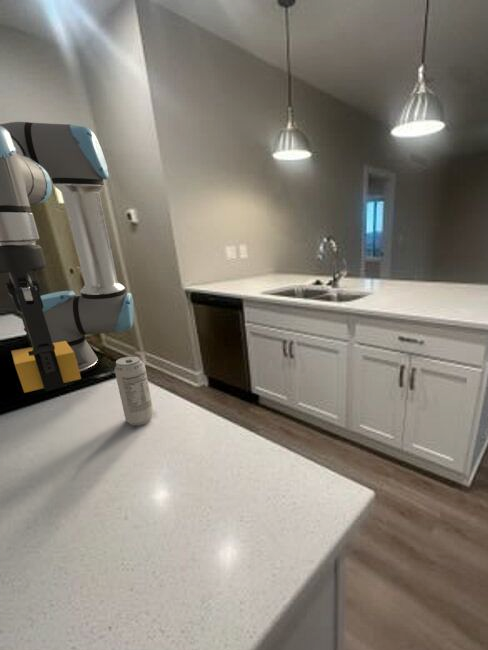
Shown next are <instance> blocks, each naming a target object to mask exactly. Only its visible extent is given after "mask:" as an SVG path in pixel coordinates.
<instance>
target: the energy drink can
mask: <svg viewBox="0 0 488 650" xmlns="http://www.w3.org/2000/svg"><path fill="white" fill-rule="evenodd" d="M115 364H116V365H115V367H114V374H115V375H114V376H115V379H116V383H117V388H118V393H119V396H120V401H121V406H122V409H123V415H124V419H125V421H126V422H127V423H129V425H131V426H143V425H146V424H148V423H149V422H151V420H152V419H153V417H154V415H155V412H154V408H153V402H152V396H151V390H150V386H149V385H150V384H149V379H148V375H147V369H146V365H145V363H144V362H143V361H142V360H141V357H140V356H138V355H137V356H136V355H129V356H128V355H127V356H124V357H121V358H118V359H116V361H115Z"/></svg>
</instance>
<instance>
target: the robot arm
mask: <svg viewBox="0 0 488 650" xmlns="http://www.w3.org/2000/svg"><path fill="white" fill-rule="evenodd" d="M105 158H106V157H105V155H104V153H103V150H102V147H101V145H100V143H99V140H98V138H97V136H96V134H95V133H94V131H93V130H92V129H90V128H89V127H87V126H84V125H83V126H82V125H77V124H72V123H71V124H70V123H68V124H65V123H48V122H47V123H46V122H29V121H11V122H6V123H0V274H5V273H8V275H9V278H8V282H5V286H6V287H5V288H6V289H7V292H8V295H9V296H10V297H11V299H12V302H13V306H14V307H15V310H16V312H17V313H19V314H20V318H21V321H22V324H23V330H24V332H25V335H26V337H27V341H28V345H29V348H30V347H33V351H29V352H28V353H29V356H32V355H34V357H35V360H36V363H37V366H38V370H39V373H40V376H41V379H42V382H43V386H44V388H43V389H44V391H45V392H48V391H53V390H56V389H60V388H65V383H64V382H63V379H62V375H61V372H60V368H59V365H58V362H57V358H56V355H55V351H54V350H55V346H54V345H53V343H57V342H62V341H66V342H67V343H68V345H69V346H70V347H71V349H72V350H73V352H74V354H75V358H76V361H77V365H78V369H79V372H80V375H82V374H86V373H88V372H90V371H92V370H93V369H95V368H97V367H98V365H99V359H98V356H97V354H96V353H95V352H94V350H93V349H92V347H91V346H90V344H89V343H88V341H87V339H86V336H87V335H88V336H89V335H100V334H101V335H102V334H113V333H115V334H118V333H123V332H128V331H130V330H131V329H132V327H133V325H134V319H135V317H134V314H135V312H134V310H135V309H134V297H133V295H132V294H133V293H130V292H126V288H125V286H124V285H123V284H122V283H120V281H118V275H117V272H116V267H115V262H114V261H115V260H114V258H113V257H114V256H113V253H112V248H111V243H110V237H109V233H108V227H107V224H106V218H105V214H104V210H103V209H104V208H103V205H102V199H101V195H100V194H101V192H102V190H103V189H104V188H105V184H104V180H108V179H109V176H110V175H109V170H108V164H107V161H106V159H105ZM53 187H55V188H56V189H57V190H59V192H61V194H62V198H63V202H64V207H65V210H66V214H67V218H68V221H69V222H68V223H69V226H70V231H71V235H72V238H73V243H74V247H75V250H76V254H77V258H78V262H79V267H80V271H81V274H82V279H83V282H84V285H83V287H81V289H80V295H76V293H75V291H74V290H62V291H55V292H51V293H46V294H43V295H41V288H40V285H39V281H37V280H36V279H33V280H32V278H31V275H30V272H32V271H33V272H34V271H41V270H43V269H45V268H46V267H47V262H46V259H45V256H44V255H45V254H44V251H43V248H42V246H40V244H39V243H37V241H39V240H40V235H39V232H38V228H37V224H36V221H35V217H34V214H33V212H32V209H31V206H36V205H39V204H43V203H45V202H46V201H48V199H49V198H50V197H51V195H52V191H53ZM97 361H98V362H97ZM96 363H97V364H96ZM95 364H96V365H95ZM92 366H93V367H92ZM90 367H91V368H90ZM88 368H89V369H88Z"/></svg>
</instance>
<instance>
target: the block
mask: <svg viewBox="0 0 488 650" xmlns="http://www.w3.org/2000/svg"><path fill="white" fill-rule="evenodd" d="M53 345H54V346H55V350H54V351H55V355H56V358H57V362H58V365H59V368H60V372H61V375H62V379H63V382H64V384H66V383H71V382H75V381H78V380H81V379H82V377H81V374H80V372H79V369H78V365H77V361H76V358H75V354H74V352H73V350H72V349H71V347H70V346H69V345H68V343H67V342H66V341H62V342H57V343H53ZM29 351H33V347H30V346H29V347H24V348H19V349H13V350H11V351H10V352H11V355H12V360H13V364H14V367H15V371H16V372H17V376H18V379H19V381H20V384H21V387H22V391H23V393H24V394H25V393H30V392H33V391H38V390H42V389H44V386H43V382H42V379H41V376H40V373H39V370H38V366H37V363H36V360H35V357H34V355H32V356H29V353H28V352H29Z"/></svg>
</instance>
